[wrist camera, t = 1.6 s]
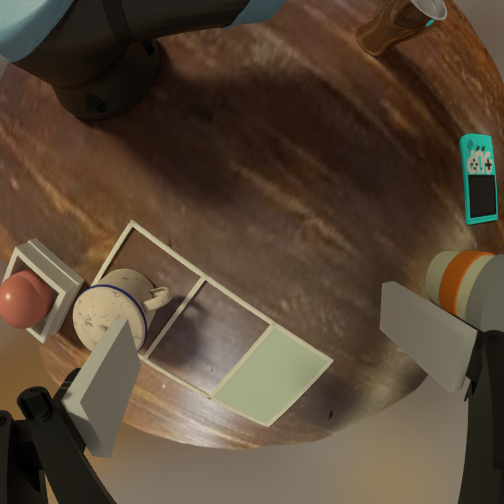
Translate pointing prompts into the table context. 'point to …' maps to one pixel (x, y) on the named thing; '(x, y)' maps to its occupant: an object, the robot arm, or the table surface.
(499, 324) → the reusable coffee cup
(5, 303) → the red ball
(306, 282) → the table surface
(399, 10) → the beer glass
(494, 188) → the handheld game console
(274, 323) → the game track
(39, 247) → the grey square box
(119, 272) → the teacup with lid
